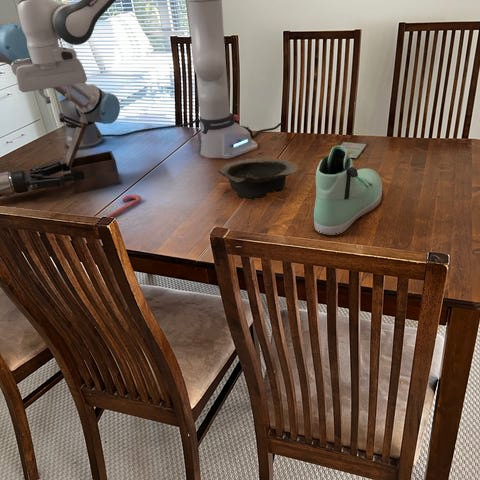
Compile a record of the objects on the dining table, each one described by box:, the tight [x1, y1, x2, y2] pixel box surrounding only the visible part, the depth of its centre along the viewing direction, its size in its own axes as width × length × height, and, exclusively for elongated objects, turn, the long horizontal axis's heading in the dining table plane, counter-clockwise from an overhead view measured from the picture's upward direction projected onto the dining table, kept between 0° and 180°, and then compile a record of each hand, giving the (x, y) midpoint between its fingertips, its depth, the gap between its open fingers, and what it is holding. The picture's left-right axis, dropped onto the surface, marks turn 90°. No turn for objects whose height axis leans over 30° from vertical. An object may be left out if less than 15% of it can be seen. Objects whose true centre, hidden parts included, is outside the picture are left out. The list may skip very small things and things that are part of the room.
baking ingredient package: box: [340, 141, 367, 159], centre depth 177 cm, size 9×1×15 cm
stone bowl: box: [217, 157, 299, 201], centre depth 152 cm, size 25×25×9 cm
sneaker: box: [313, 145, 383, 236], centre depth 133 cm, size 14×35×20 cm, turn 152°
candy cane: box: [106, 194, 142, 218], centre depth 149 cm, size 6×15×2 cm, turn 145°
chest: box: [69, 150, 121, 194], centre depth 165 cm, size 15×10×9 cm, turn 111°
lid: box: [58, 112, 88, 167], centre depth 157 cm, size 16×10×8 cm
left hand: (82, 169), depth 164 cm, fingers closed on chest, 9 cm apart
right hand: (58, 101), depth 151 cm, fingers open, 5 cm apart
